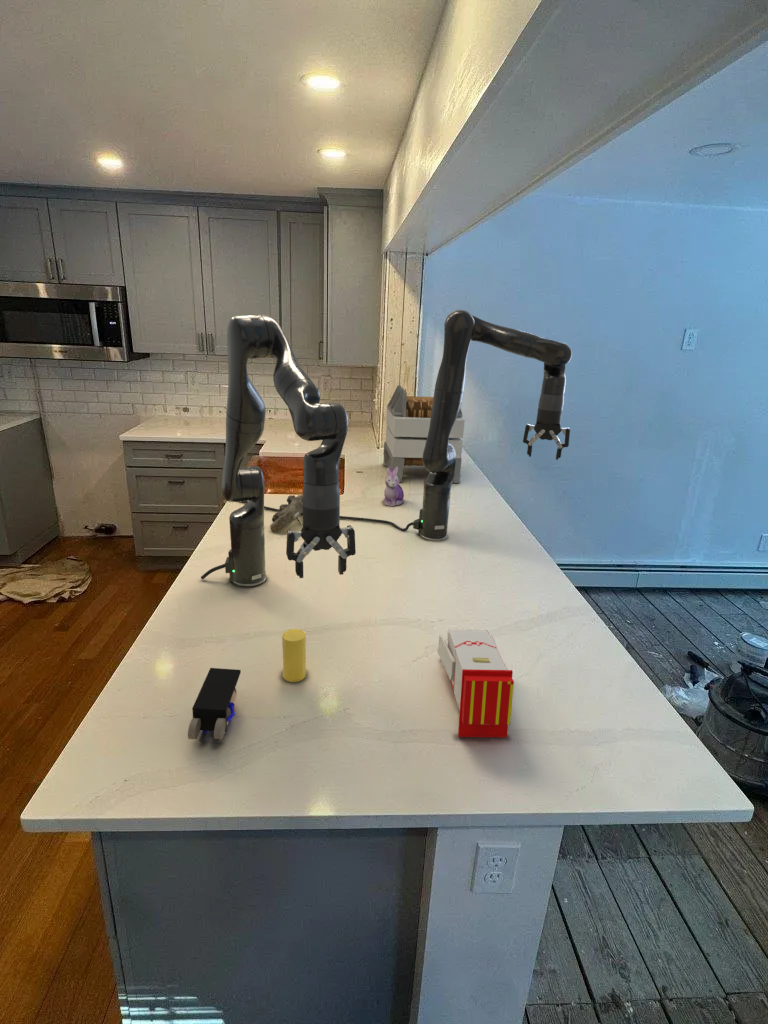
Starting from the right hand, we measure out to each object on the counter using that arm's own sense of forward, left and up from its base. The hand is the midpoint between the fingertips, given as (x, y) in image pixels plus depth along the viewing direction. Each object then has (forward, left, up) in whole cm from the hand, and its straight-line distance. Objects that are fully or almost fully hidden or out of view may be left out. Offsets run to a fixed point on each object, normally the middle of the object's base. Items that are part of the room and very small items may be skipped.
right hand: (543, 457), depth 185 cm
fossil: (-76, -39, -31) cm, 91 cm away
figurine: (-61, +5, -31) cm, 69 cm away
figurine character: (-13, -123, -31) cm, 128 cm away
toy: (+20, -85, -31) cm, 93 cm away
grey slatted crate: (-77, +50, -31) cm, 97 cm away
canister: (-12, -104, -31) cm, 109 cm away
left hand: (-12, -96, -10) cm, 97 cm away
